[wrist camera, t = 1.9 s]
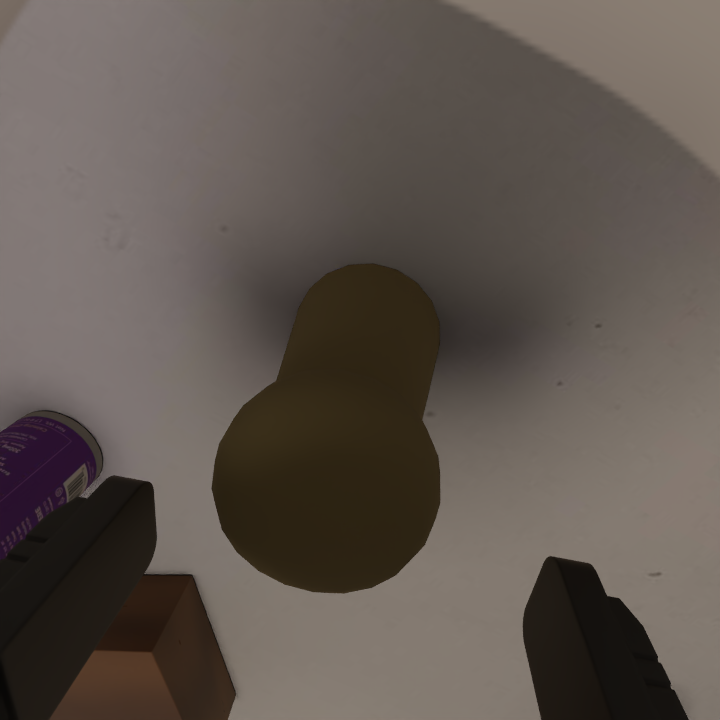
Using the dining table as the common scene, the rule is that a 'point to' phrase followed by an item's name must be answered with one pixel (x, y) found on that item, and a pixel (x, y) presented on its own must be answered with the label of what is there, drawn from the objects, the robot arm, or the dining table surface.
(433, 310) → the olive pawn
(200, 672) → the walnut block
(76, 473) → the container
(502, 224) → the dining table surface
